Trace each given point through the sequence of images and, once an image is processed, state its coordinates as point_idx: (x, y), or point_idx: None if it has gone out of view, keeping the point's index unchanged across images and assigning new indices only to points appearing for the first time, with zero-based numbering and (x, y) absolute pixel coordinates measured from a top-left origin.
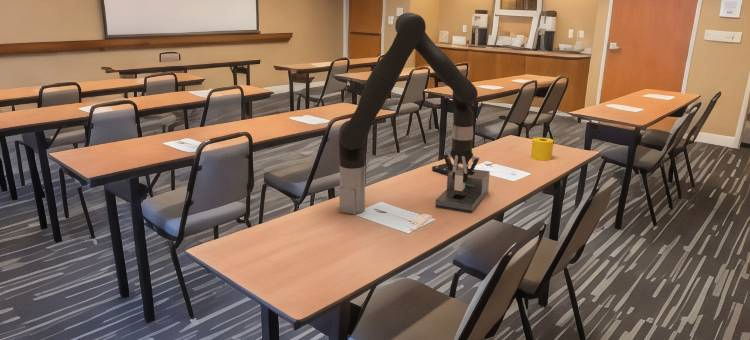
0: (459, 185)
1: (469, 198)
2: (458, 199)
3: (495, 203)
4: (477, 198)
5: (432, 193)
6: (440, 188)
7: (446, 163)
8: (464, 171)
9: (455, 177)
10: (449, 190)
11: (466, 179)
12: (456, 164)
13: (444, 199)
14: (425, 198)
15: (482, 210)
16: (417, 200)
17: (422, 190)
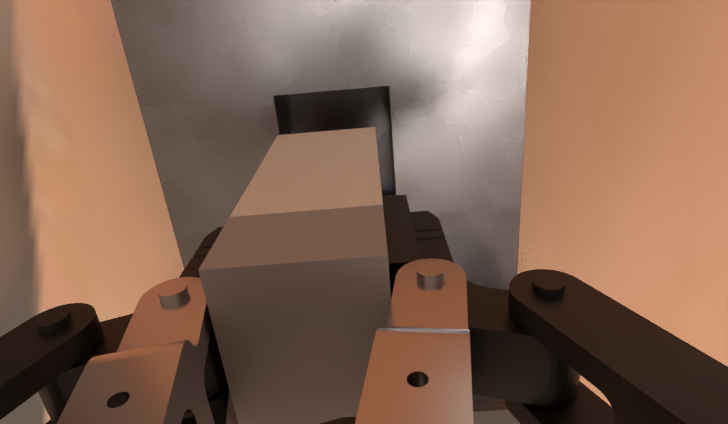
0: (303, 151)
1: (233, 171)
2: (312, 86)
3: (109, 298)
4: (171, 208)
5: (621, 265)
6: (585, 382)
7: (694, 354)
8: (196, 298)
9: (370, 188)
10: (481, 276)
11: (207, 241)
12: (374, 359)
13: (444, 2)
14: (655, 126)
15: (104, 104)
16: (721, 36)
17: (715, 287)
